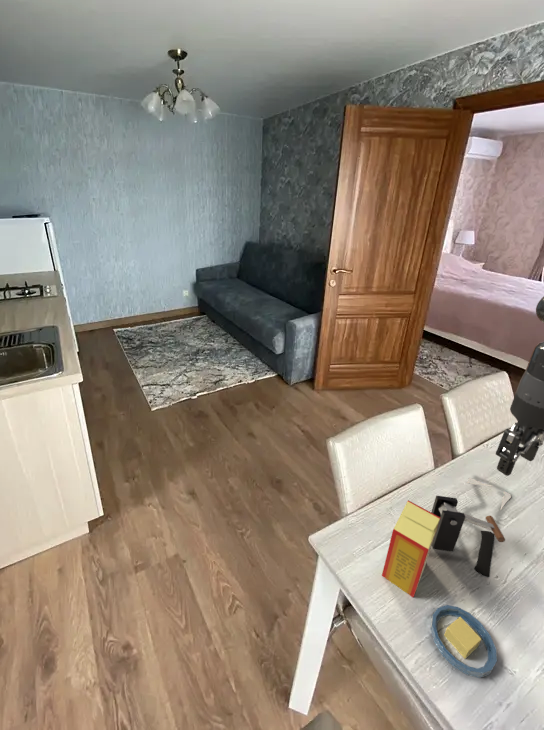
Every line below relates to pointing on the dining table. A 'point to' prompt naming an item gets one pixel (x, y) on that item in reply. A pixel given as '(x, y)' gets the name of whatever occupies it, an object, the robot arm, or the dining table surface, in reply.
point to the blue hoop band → (480, 630)
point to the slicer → (447, 525)
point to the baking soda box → (410, 547)
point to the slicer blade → (477, 521)
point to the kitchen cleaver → (486, 540)
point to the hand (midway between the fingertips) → (515, 465)
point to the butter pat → (462, 637)
